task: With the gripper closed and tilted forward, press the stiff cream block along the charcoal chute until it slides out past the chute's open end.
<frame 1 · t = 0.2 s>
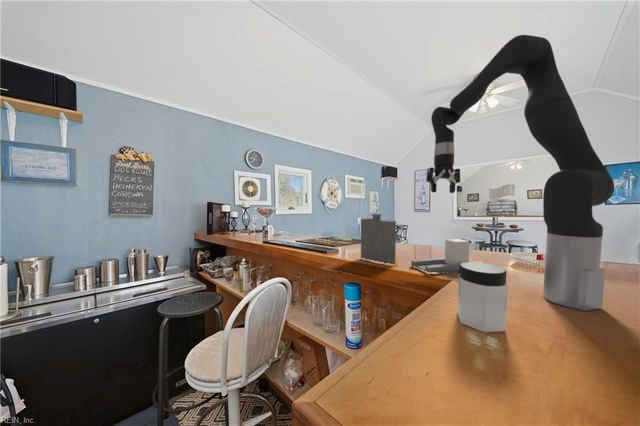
hand: (443, 192, 99), 29 cm above the bar counter, tool pointing down, fingers open, 8 cm apart
block: (456, 252, 87), point 6 cm above the bar counter, slide at 0.0 cm
jar: (479, 322, 49), on the bar counter
chute: (447, 267, 86), on the bar counter
hip flask: (376, 262, 95), on the bar counter
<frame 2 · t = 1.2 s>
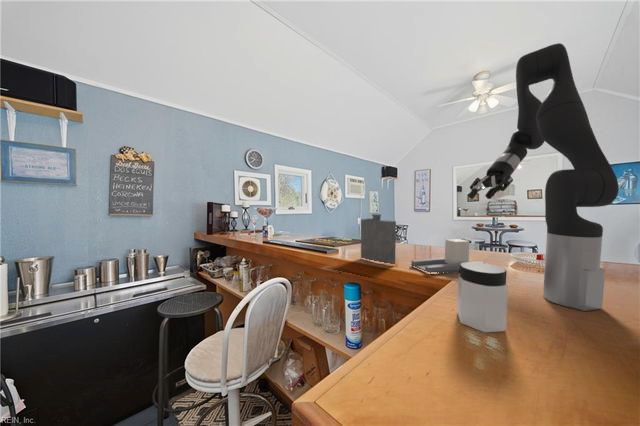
hand: (478, 197, 89), 26 cm above the bar counter, tool tilted 45°, fingers open, 7 cm apart
nothing on the bar counter moved.
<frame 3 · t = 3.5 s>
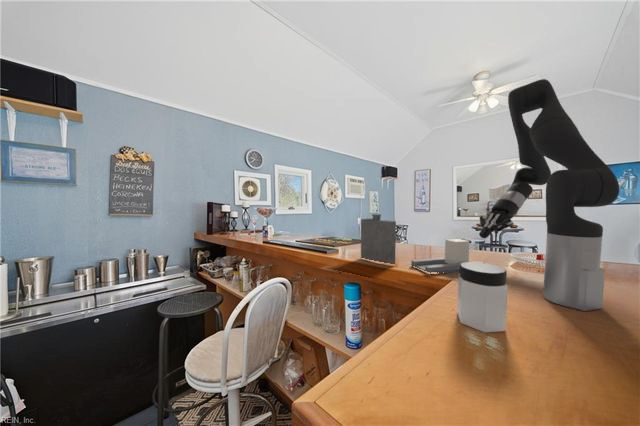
hand: (482, 236, 89), 11 cm above the bar counter, tool tilted 45°, fingers closed
nothing on the bar counter moved.
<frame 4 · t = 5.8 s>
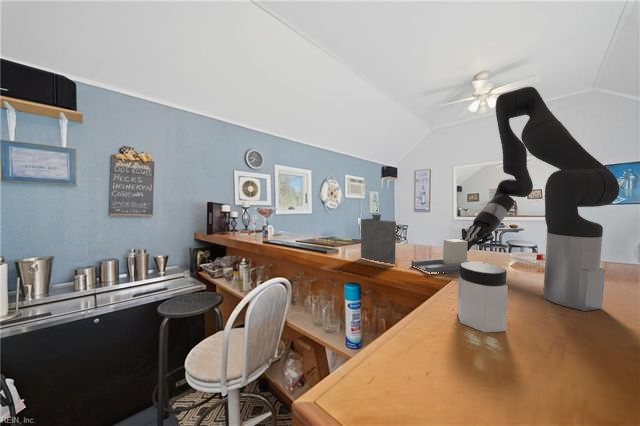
hand: (462, 250, 87), 6 cm above the bar counter, tool tilted 45°, fingers closed
block: (455, 252, 87), point 6 cm above the bar counter, slide at 0.8 cm, touching gripper
everything else where it was.
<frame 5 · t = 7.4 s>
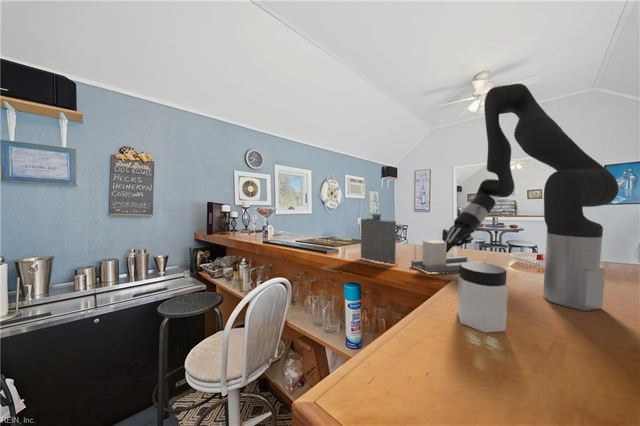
hand: (442, 251, 85), 6 cm above the bar counter, tool tilted 45°, fingers closed
block: (434, 253, 85), point 6 cm above the bar counter, slide at 10.0 cm, touching gripper
everything else where it was.
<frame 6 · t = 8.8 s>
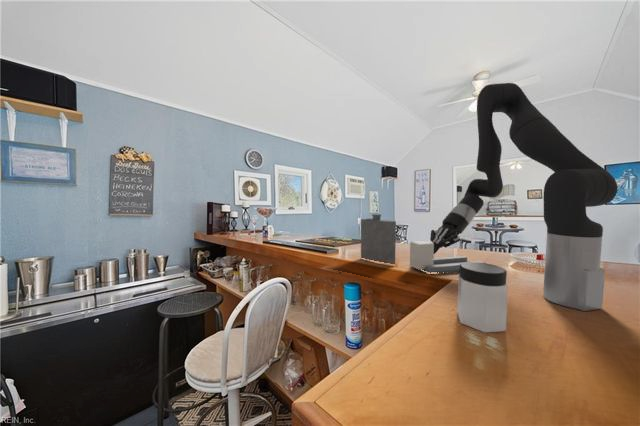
hand: (430, 252, 84), 6 cm above the bar counter, tool tilted 45°, fingers closed
block: (421, 254, 83), point 6 cm above the bar counter, slide at 15.4 cm, touching gripper
everything else where it was.
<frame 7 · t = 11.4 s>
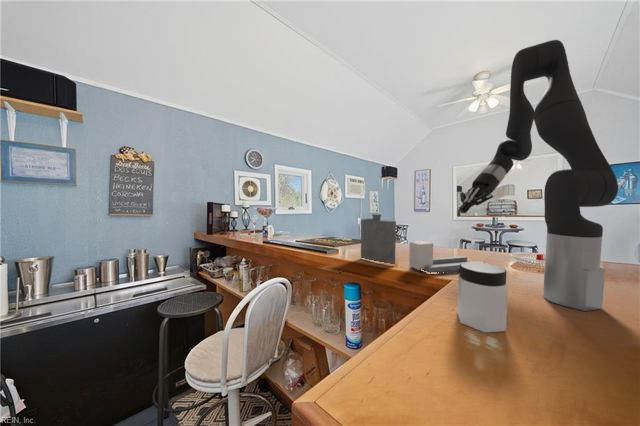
hand: (461, 211, 86), 21 cm above the bar counter, tool tilted 45°, fingers closed
block: (421, 254, 83), point 6 cm above the bar counter, slide at 15.6 cm
everything else where it was.
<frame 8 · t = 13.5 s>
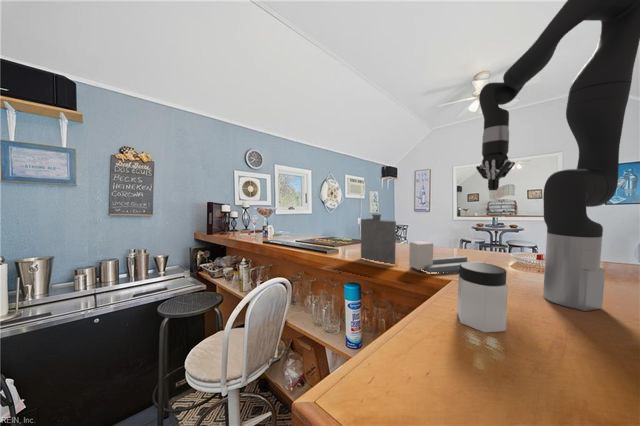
hand: (493, 190, 83), 29 cm above the bar counter, tool pointing down, fingers closed
nothing on the bar counter moved.
at the end: block slide at 15.6 cm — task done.
